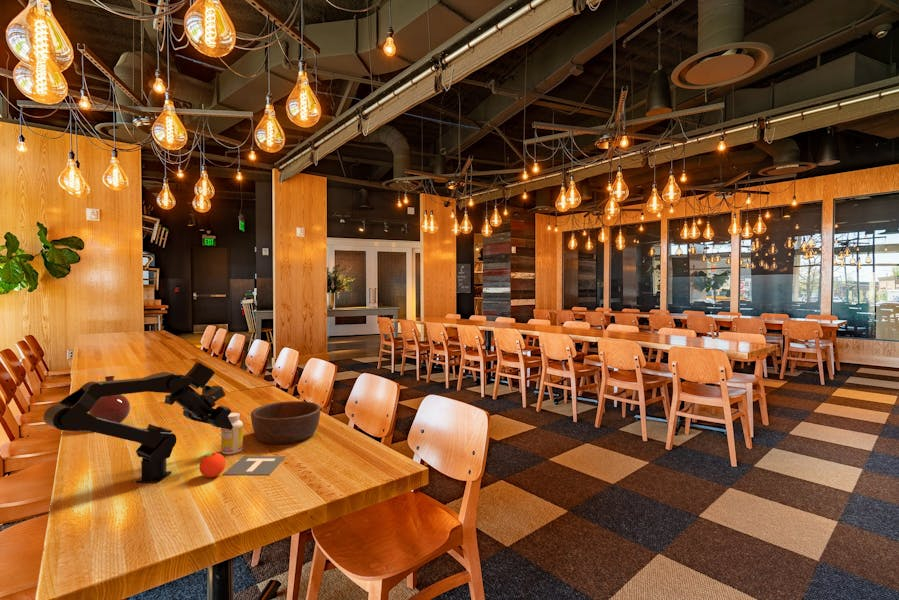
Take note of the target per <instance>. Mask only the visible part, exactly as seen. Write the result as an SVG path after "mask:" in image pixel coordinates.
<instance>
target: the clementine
mask: <svg viewBox="0 0 899 600" xmlns="http://www.w3.org/2000/svg"><path fill="white" fill-rule="evenodd" d="M200 458H202V459H200ZM199 459H200V461H199V466H198V469H199V472H200V474H201V475H202V476H203V477H204V478H215V477H217V476H219V475H220V474H222V472H223V471H224V470H225V467H226V458H225V457H224V455H222V454H221V453H218V452H210V453H206V454H203V455H202V456H200V457H199Z"/></svg>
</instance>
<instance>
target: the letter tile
mask: <svg viewBox="0 0 899 600" xmlns="http://www.w3.org/2000/svg"><path fill="white" fill-rule="evenodd" d="M285 458H287V456H286V455H285V456H283V455H282V456H279V455H278V456H276V455H275V456H274V455H273V456H272V455H271V456H269V455H260V456H259V455H258V456H257V455H252V456H250V455H248V456H247V455H246V456H245V455H244V456H242V457H240V459H238V460H237V461H236V462H235V463H234V464H233V465H231V467H229V468H228V469H227V470H226V471H225V472H223V474H222V476H270V475H271V474H272V473H273V472H274V471H275V469H276V468H277V467H278V466H279V465H280V464H281V462H283V460H285Z"/></svg>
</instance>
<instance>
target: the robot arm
mask: <svg viewBox="0 0 899 600" xmlns="http://www.w3.org/2000/svg"><path fill="white" fill-rule="evenodd" d="M215 375H216V372H215V371H214V370H213V369H212V368H210V367H208V366H206V365H204V364H203V363H201V362H197V361H196V362H195V363H194V364H193V366H192V368H191V369H190V370H188V372H187V373H186V374H185V375H184V374H178V373H173V372H168V371H162V372H157V373H152V374H149V375H148V376H145V377H137V378H126V379H125V378H124V379H114V380H113V381H106V380H103V381H93V380H92V381H88V382H85V384H83V385H81V387H79V389H77V390H76V391H74V392H72V393H71V394H69V395H67V396H65V397H64V398H63V399H62V400H61V401H59V402H58V403H55V404H53V405H51V406H49V407H47V409H46V410H45V412H44V414H43V421H44V423H45V424H46V425H48V426H50V427H53V428H55V429H57V430H60V431H67V432H91V433H97V434H100V435H104V436H108V437H113V438H118V439H122V440H126V441H130V442H134V443H138V444H139V447H138V448H137V449H135V452H136V455H137V457H138V458H142V459H141V461H140V465H141V468H140V471H141V473H140V474H141V475H140V476H141V477H139V478H138V479H136V480H135V483H159V482H161V481H162V480H164V479H165V478H166V477H168V476H170V475H171V474H172V471H171V470H170V471H169V470H168V471H167V459H169V458H171V455H172V452H173V449H174V447H175V446H176V444H177V435H176V434H175V433H173V430H172V429H170V428H169V429H168V428H165V427H162V426H157V425H153V424H151V423H149V424H148V425H147V428H140V427H136V426H134V425H133V426H132V425H128V424H125V423H122V422H121V423H117V422H114V421H110V420H106V419H102V418H98V417H94V416H93V415H91V414H89V411H90V410H91V408H92V407H93V406H94V404H95V403H96V401H97V400H98V399H99V398H101V397H104V396H112V395H127V394H128V395H129V394H138V393H145V392H149V393H161V394H165V396H164V398H165V399H164V404H167V405H170V406H173V405H174V403H177V404H178V405H179V406H180V407H182V410H183V411H182V415H183V416H184V417H185V418H186V419H189V420H192V421H194V422H199V423H203V424H208V425H211V426H212V427H215V428H219V429H221V428H224V429H229V430H232V428H233V426H232V424H231V422H230V420H229V418H228V416H229V414H230V413H232V410H231V409H230V408H229V407H227V406H224V405H218V406H216V405H217V404H216V402H217V401H219V400H220V399H222V398H224V397H225V396H226V395H227V394H226V392H225V391H224V389H223V387H222V386H220V385H212V386H210V385H207V384H208V382H209V381H211V379H212V378H214V376H215ZM195 389H196V390H195ZM198 389H202V390H201V394H200V393H198V392H197V390H198ZM215 406H216V408H214V407H215Z"/></svg>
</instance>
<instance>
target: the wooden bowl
mask: <svg viewBox="0 0 899 600" xmlns="http://www.w3.org/2000/svg"><path fill="white" fill-rule="evenodd" d="M321 410H322V409H321V406H320V405H319V404H318V403H315V402H311V401H310V402H309V401H305V400H303V401H302V400H300V401H299V400H293V401H291V400H289V401H279V402H278V401H277V402H273V403H268V404H265V405H261V406H258V407H257V408H255V409H253V410H252V411H251V413H250V420H251V425H252V430H253V433H254V435H255V437H256V439H258V440H259V441H260V442H262V443H263V444H268V445H269V444H270V445H287V444H293V443H295V444H296V443H299V442H301V441H304V440H307V439H309V438H311V437H312V436H313V435H314V434H315V432H316V431H317V429H318V425H319V423H320V417H321V412H322V411H321Z"/></svg>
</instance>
